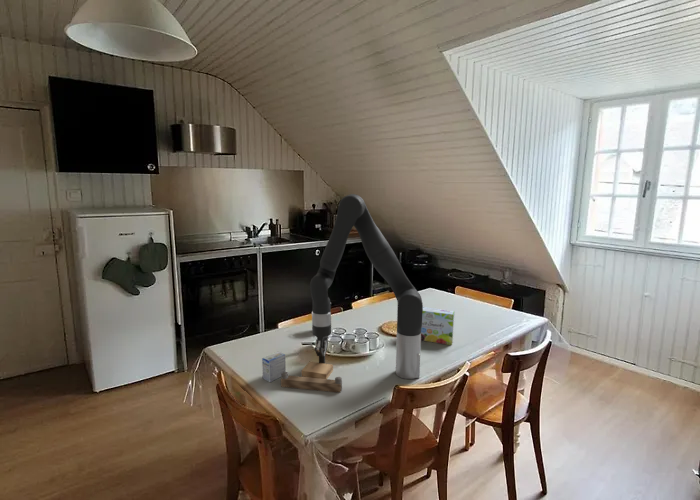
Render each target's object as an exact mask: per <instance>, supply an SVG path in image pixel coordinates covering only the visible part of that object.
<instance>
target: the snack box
mask: <svg viewBox="0 0 700 500" xmlns="http://www.w3.org/2000/svg"><path fill="white" fill-rule="evenodd" d="M454 327H455V310H447V309H440V308H432V307H425V306H424V307H423V314H422V328H421V342H430V343H437V344H441V345H447V346H452V345H453V340H454Z"/></svg>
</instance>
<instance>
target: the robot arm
mask: <svg viewBox="0 0 700 500" xmlns="http://www.w3.org/2000/svg"><path fill="white" fill-rule="evenodd" d="M333 225H334V226H333V229H332V231H331V234H330V236H329V238H328V241H327V243H326V246H325V248H324V249H323V250H324V251H323V252H322V256H321V257H320V260H319V268H318V270H317V273H316V274H315V275H313V277H312V278H311V279H310V283H309V289H310V290H309V291H310V297H311V300H312V312H313V315H312V314H311V328H312V329H311V331H312V335H313V336H314V337H316V340H315V344H316V346H315V347H314V350H315V355H316V356H317V357H318V363H324V364H326V352H327V351H328V345H329V339H330V336H331V334H332V312H331V299H330V297H329V294H328V290H329V288H330V287H331V286H332V284H333V281H334V279H335V275H336V273H337V272H336V271H337V268H338V266H339V264H340V262H341V260H342V257H343V254H344V251H345V248H346V245H347V241H348V238H349V235H350V233H351V231H352V229H353V228H355V230H356V231H357V233H358V235H359V238H360V241H361V244H362V246H363V249H364V252H365V254H366V256H367V258H368V259H369V261H370V263H371V264H372V266H373V267H374V268H375V270H376V271H377V272H378V274H379V275H380V276H381V277H382V278H383V279H384V280H385V282H387V284H388V286H389V287H390V289H391V290H392V292H393V294H394V296H395V299H396V301H397V309H396V310H397V312H396V313H397V314H396V315H397V318H396V344H395V345H396V348H395V350H396V351H395V374H396V376H397V377H399V378H401V379H406V380H413V379H419V378H420V372H421V371H420V370H421V346H422V345H421V344H422V343H421V342H422V340H421V328H422V314H423V306H424V305H423V300H422V296H421V294H420V293H419V291H418V290H417V289H416V287H415V286H414V285H413V284H412V282H411V281H410V279H409V278H408V276H407V275H406V273H405V272H404V270H403V269H404V268H403V267H402V264H401V263H400V260H399V258H398V257H397V255H396V254H395V251H394V250H393V248H392V246H391V245H390V244H389V241H387V238H385V236H384V234H383V233H382V231H381V229H380V228H379V227H378V226H377V224H376V223H375V220H374V219H373V217H372V215H371V213H370V211H369V209H368V207H367V205H366V202H365V200H364V199H363V197H361V196H360V195H359V194H355V193H350V194H347V195H346V196H344V197H342V198H341V200H339V203H338V208H337V213H336V217H335V221H334V224H333Z"/></svg>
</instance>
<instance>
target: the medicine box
mask: <svg viewBox="0 0 700 500" xmlns="http://www.w3.org/2000/svg"><path fill="white" fill-rule="evenodd" d="M261 367H262V379H263V380H265V381H267V382H269V383H272V382H273V381H276V380H277V379H279V378H280V379H281V378H282V373H283V372H287V371H286V368H287V367H286V354H285V353H283V352H282V351H281V352H280V351H276V352H273V353H271V354H268V355H266V356H264V357H262V358H261Z"/></svg>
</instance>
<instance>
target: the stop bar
mask: <svg viewBox="0 0 700 500" xmlns="http://www.w3.org/2000/svg"><path fill="white" fill-rule="evenodd" d="M280 386H281V387H282V388H290V389H301V390H310V391H311V390H312V391H319V392H320V391H321V392H330V393H341V392H342V390H343V378H342V377H341V376H336V377H335V378H334V379H329V378H328V379H319V378H309V377H302V376H297V375H289V372H287V371H286V372H283V373H282V377H280Z"/></svg>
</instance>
